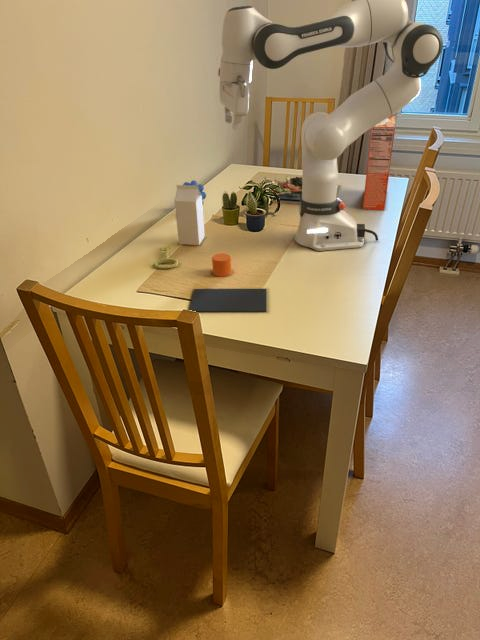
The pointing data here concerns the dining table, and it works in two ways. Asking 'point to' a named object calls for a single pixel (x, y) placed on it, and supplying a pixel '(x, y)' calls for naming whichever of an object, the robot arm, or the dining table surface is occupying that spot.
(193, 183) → the grapes
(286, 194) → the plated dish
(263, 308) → the mat
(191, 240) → the milk carton
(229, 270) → the cylinder
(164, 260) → the key
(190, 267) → the dining table surface
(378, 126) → the red cereal box
